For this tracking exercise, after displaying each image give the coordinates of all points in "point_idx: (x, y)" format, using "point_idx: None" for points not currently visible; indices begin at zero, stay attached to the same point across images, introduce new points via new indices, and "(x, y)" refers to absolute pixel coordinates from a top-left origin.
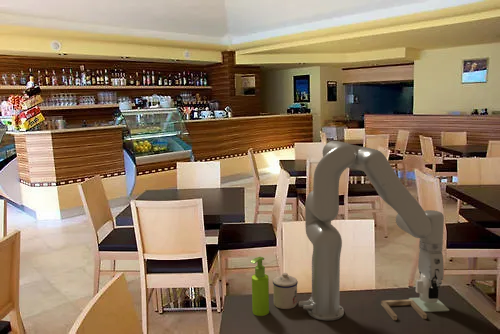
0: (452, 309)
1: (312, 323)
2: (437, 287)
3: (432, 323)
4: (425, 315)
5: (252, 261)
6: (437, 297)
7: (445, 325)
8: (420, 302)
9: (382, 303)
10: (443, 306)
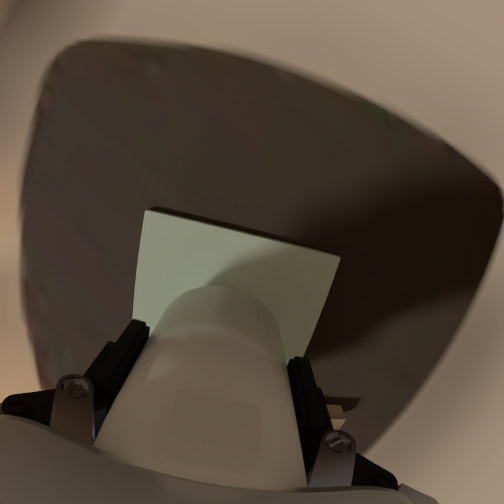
0: (331, 221)
1: None
2: (355, 460)
3: (378, 401)
4: (342, 420)
5: None
6: (306, 363)
7: (416, 365)
8: None
9: None
10: (289, 261)
